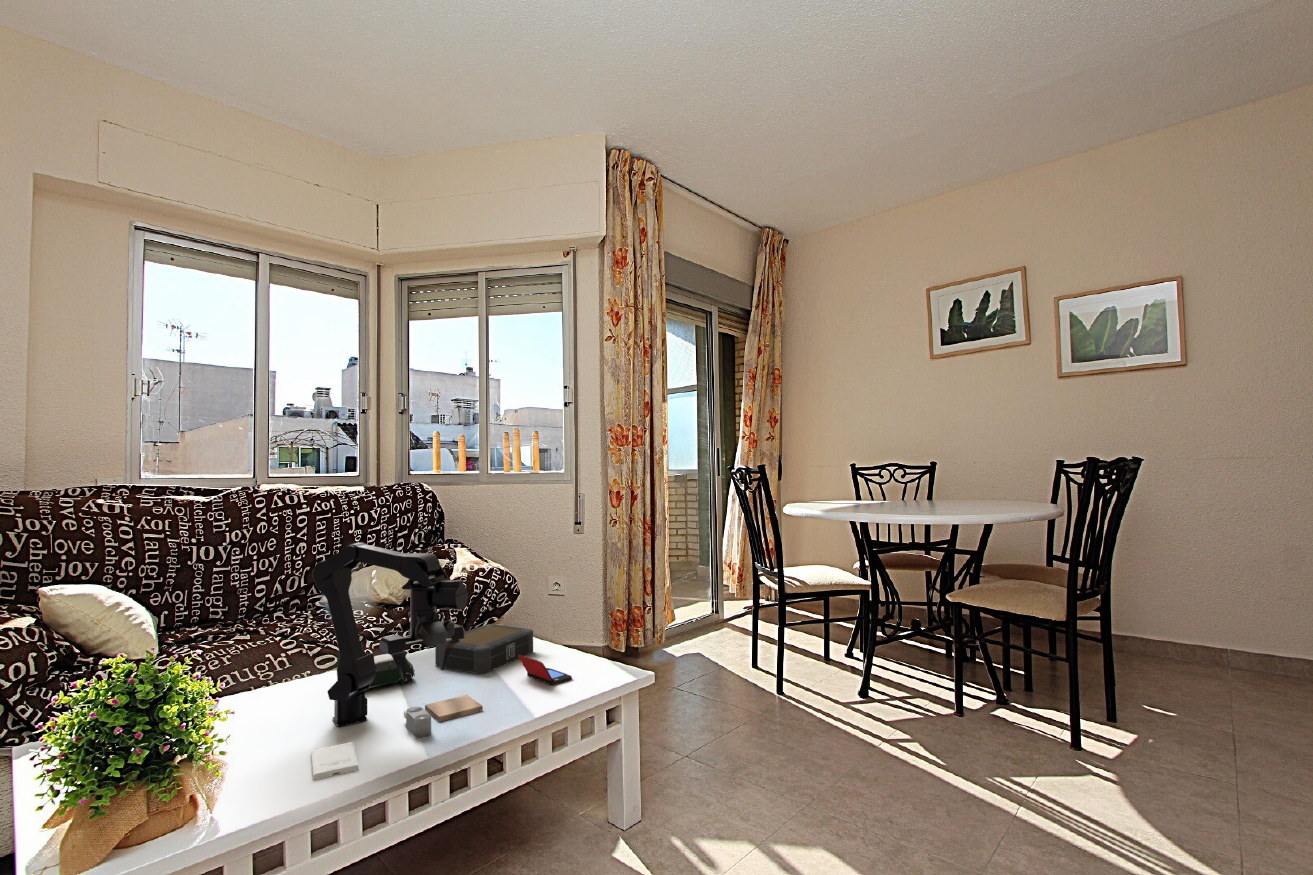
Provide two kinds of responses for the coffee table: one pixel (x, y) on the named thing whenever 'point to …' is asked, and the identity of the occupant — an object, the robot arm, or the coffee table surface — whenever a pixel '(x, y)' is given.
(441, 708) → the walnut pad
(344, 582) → the robot arm
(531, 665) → the handheld game console
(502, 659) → the cash box
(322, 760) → the external hard drive
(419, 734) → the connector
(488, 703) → the coffee table surface
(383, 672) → the miniature car
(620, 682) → the coffee table surface
